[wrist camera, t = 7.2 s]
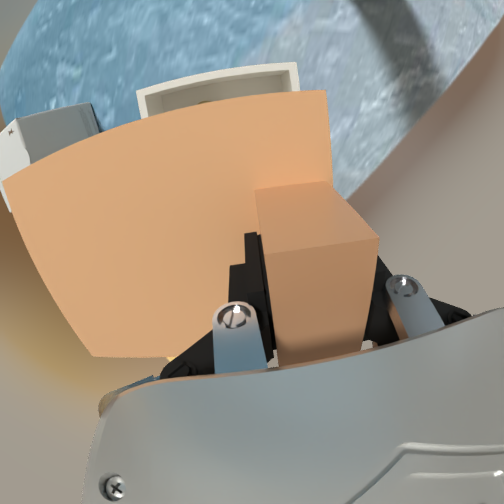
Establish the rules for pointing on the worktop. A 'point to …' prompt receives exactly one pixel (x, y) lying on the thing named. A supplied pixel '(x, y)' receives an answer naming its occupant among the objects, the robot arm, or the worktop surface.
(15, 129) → the skincare box
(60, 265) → the lid
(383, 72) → the worktop surface
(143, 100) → the tub
